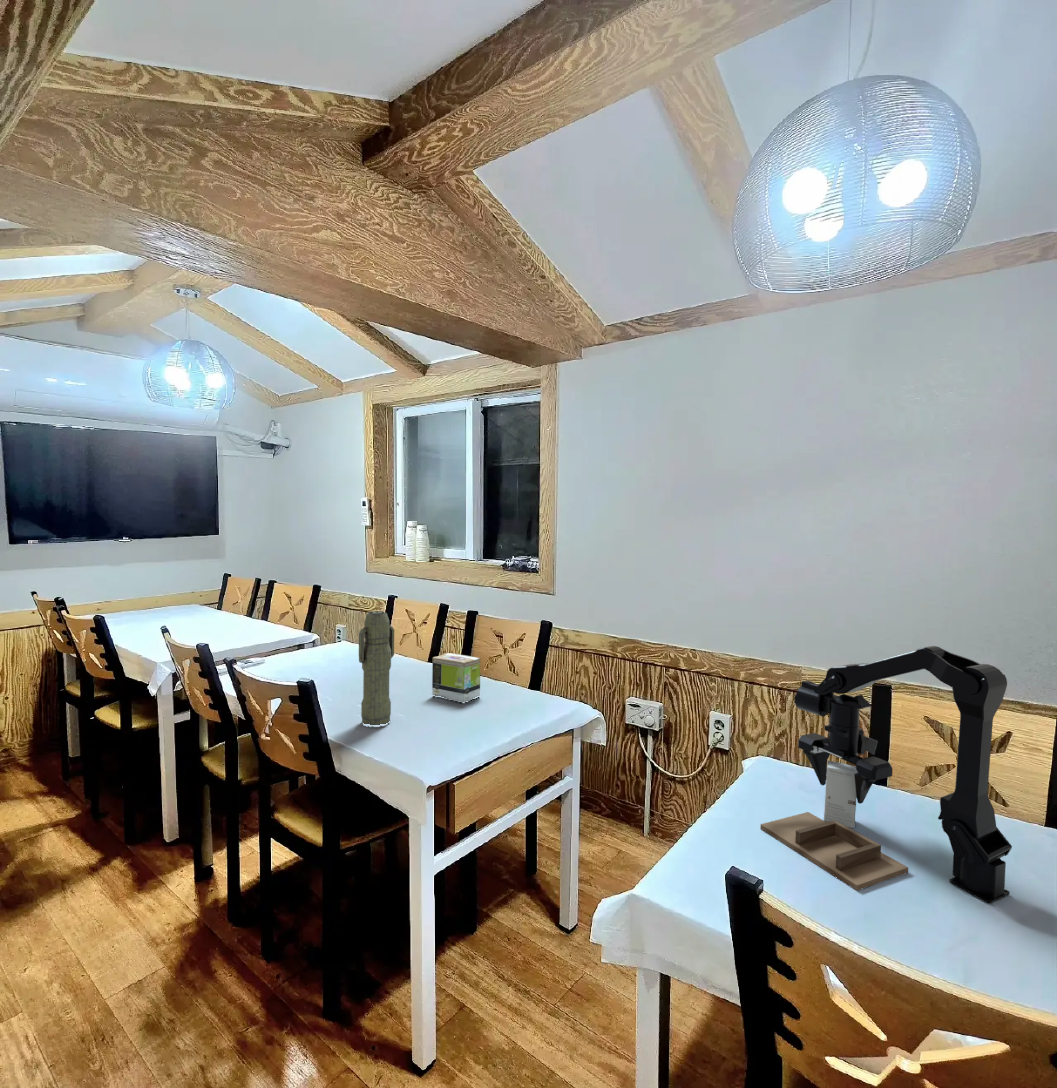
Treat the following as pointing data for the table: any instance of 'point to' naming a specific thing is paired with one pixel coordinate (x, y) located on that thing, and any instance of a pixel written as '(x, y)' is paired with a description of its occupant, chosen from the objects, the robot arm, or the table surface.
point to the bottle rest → (836, 849)
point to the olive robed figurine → (376, 667)
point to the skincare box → (840, 794)
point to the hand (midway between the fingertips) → (841, 793)
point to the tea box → (456, 677)
